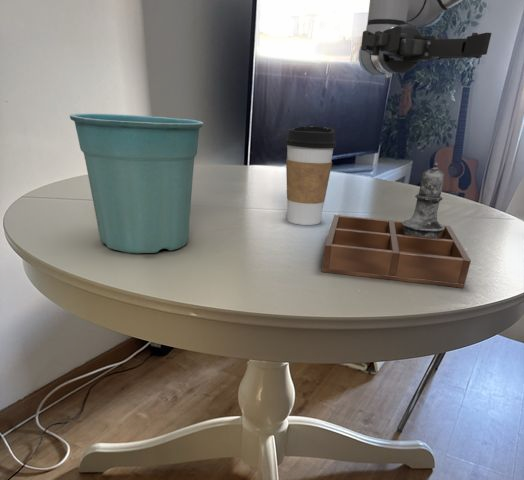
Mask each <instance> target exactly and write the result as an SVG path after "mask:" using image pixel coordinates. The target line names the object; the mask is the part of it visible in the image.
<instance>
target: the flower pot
mask: <svg viewBox="0 0 524 480" xmlns="http://www.w3.org/2000/svg"><path fill="white" fill-rule="evenodd" d="M69 119H70V120H71V121H73V122H74V127H75V130H76V134H77V139H78V145H79V149H80V151H81V152H82V153H83V156H84V157H83V158H84V161H85V166H86V171H87V177H88V181H89V182H88V183H89V187H90V192H91V198H92V202H93V208H94V214H95V219H96V224H97V229H98V234H99V239H100V243H101V244H102V245H106V247H107V248H108V249H111V250H114V251H119V252H123V253H129V254H156V253H159V251H161V250H165V249H166V250H168V251H175V250H178V249H181V248H183V247H185V245H187V244H188V241H189V232H190V217H191V207H192V206H191V204H192V194H193V181H194V180H193V179H194V167H195V157H196V156H197V154H198V144H199V135H200V128H203V126H204V122H203V121H200V120H195V119H186V118H185V119H184V118H173V117H164V116H150V115H138V114H137V115H135V114H118V113H117V114H115V113H114V114H113V113H72V114H69Z"/></svg>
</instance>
